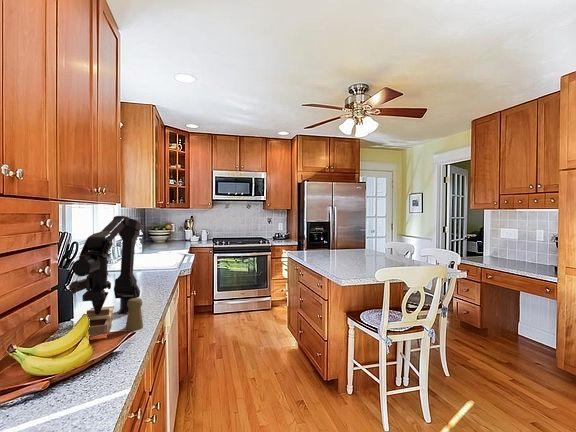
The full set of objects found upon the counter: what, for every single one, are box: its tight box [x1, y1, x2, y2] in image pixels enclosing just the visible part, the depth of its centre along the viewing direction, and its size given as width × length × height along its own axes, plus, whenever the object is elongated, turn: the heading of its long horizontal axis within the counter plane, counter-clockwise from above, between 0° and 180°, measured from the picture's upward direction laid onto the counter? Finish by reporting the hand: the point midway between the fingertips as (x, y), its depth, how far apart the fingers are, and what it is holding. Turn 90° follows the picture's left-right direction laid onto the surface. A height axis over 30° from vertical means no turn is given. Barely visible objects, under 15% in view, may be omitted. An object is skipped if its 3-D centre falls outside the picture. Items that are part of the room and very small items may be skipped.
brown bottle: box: [125, 297, 144, 332], centre depth 119 cm, size 6×6×11 cm
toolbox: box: [89, 315, 113, 337], centre depth 113 cm, size 12×8×4 cm, turn 22°
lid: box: [86, 305, 115, 320], centre depth 120 cm, size 12×8×3 cm, turn 22°
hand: (97, 314), depth 114 cm, fingers closed
